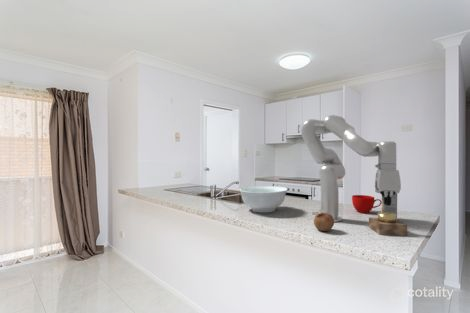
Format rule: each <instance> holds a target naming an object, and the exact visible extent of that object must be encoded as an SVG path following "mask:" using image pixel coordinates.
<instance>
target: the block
mask: <svg viewBox="0 0 470 313" xmlns="http://www.w3.org/2000/svg"><path fill="white" fill-rule="evenodd" d="M368 229H370V230H372V231H373V232H375V233H376V234H377V235H381V236H405V237H407V236H408V224H407V223H405V222H402V221H400V220H399V219H398V218H397V219H396V223H385V222H380V221H378V217H368Z"/></svg>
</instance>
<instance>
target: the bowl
mask: <svg viewBox="0 0 470 313" xmlns="http://www.w3.org/2000/svg"><path fill="white" fill-rule="evenodd" d="M239 192H240V193H241V199H242V201H243V203H244V204H245V205H246V206H248V207H249V208H251V210H252V212H255V213H262V214H263V213H266V214H267V213H273V212H275V211H276V209H277V208H279V207H280V206H281V205H282V204H283V203H284V201H285V198H286V194H287V192H288V188H287V187H284V186H283V187H282V186H271V185H254V186H253V185H252V186H243V187H240V188H239Z"/></svg>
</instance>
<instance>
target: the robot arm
mask: <svg viewBox="0 0 470 313" xmlns="http://www.w3.org/2000/svg"><path fill="white" fill-rule="evenodd" d="M300 131H301V132H300V133H301V137H302V139H303V142H304V143H305V145H306V147H307V148H308V151H309V152H310V155H311V156H312V158H313V160H314V162H315V163H316V164H318V165H323V166H321V167H320V168H319V170H318V176H319V177H318V178H319V182H320V209H319V210H318V211H312V213H311V214H312V216H314V217H315V216H316V215H318V214H319V213H329V214H330V215H332V217H333V219H334V223H338V222H341V221H342V217H341V216H339V183H338V180H342V179H344V177H345V176H346V168H345V166H344V164H343V162H342V160H341V159H340V157H339V156H338V154H337V152H335V151H334V150H333V149H332V148H327V147H326V146H324V144H323V142H322V140H321V139H320V138H319V137H318V135H326V134H331V133H332V134H334V135H335V136H337V137H338V138H339V139H341V140H342V141H343V142H344V144H345V145H346V146H347V147H348V148H349V149H351V150H352V151H353V152H355V153H356V154H358V155H359V156H360V157H366V158H367V157H369V158H371V157H378V159H377V161H378V162H377V164H375V165H374V168H377V170H376V173H375V179H374V180H375V181H374V189H375V191H374V192H375V193H378V194H380V195H381V197H382V196H383V203H384V205H387V206H388V205H389V206H390V205H391V197H393V195H394V194H396V193H397V194H400V191H401V190H402V187H401V183H402V182H401V176H400V171H399V169H397V142H395V141H390V140H389V141H380V142H375V141H367V140H366V139H365V138H363V137H362V136H361V135H359V134H357V132H356V130H355V127H354V126H352V125H351V124H349V123H347V121H346V119H345V118H344V117H342V116H339V115H334V114H331V115H330V114H329V115H327V116H326V117H325V119H324V120H321V119H313V118H311V119H307V120H305V121H304V123H303V124H302V126H301V130H300ZM387 191H388V193H387Z"/></svg>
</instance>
